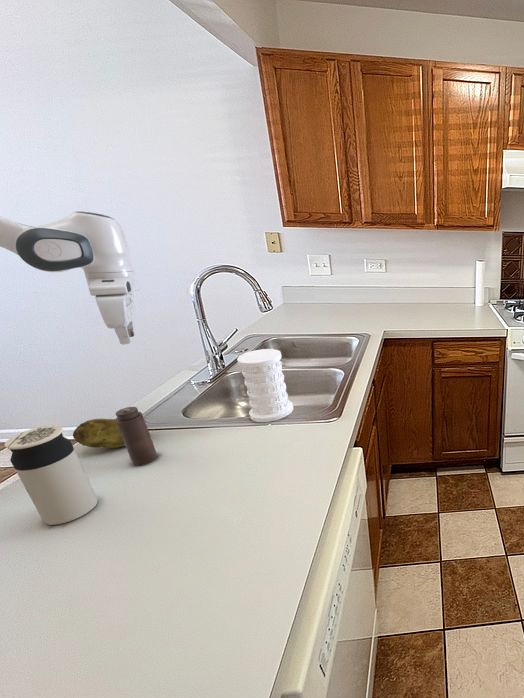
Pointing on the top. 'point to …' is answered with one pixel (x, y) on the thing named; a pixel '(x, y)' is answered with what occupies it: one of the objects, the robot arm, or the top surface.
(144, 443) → the pepper mill
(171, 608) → the top surface
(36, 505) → the travel mug
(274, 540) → the top surface
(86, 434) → the green pickle
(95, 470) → the top surface
